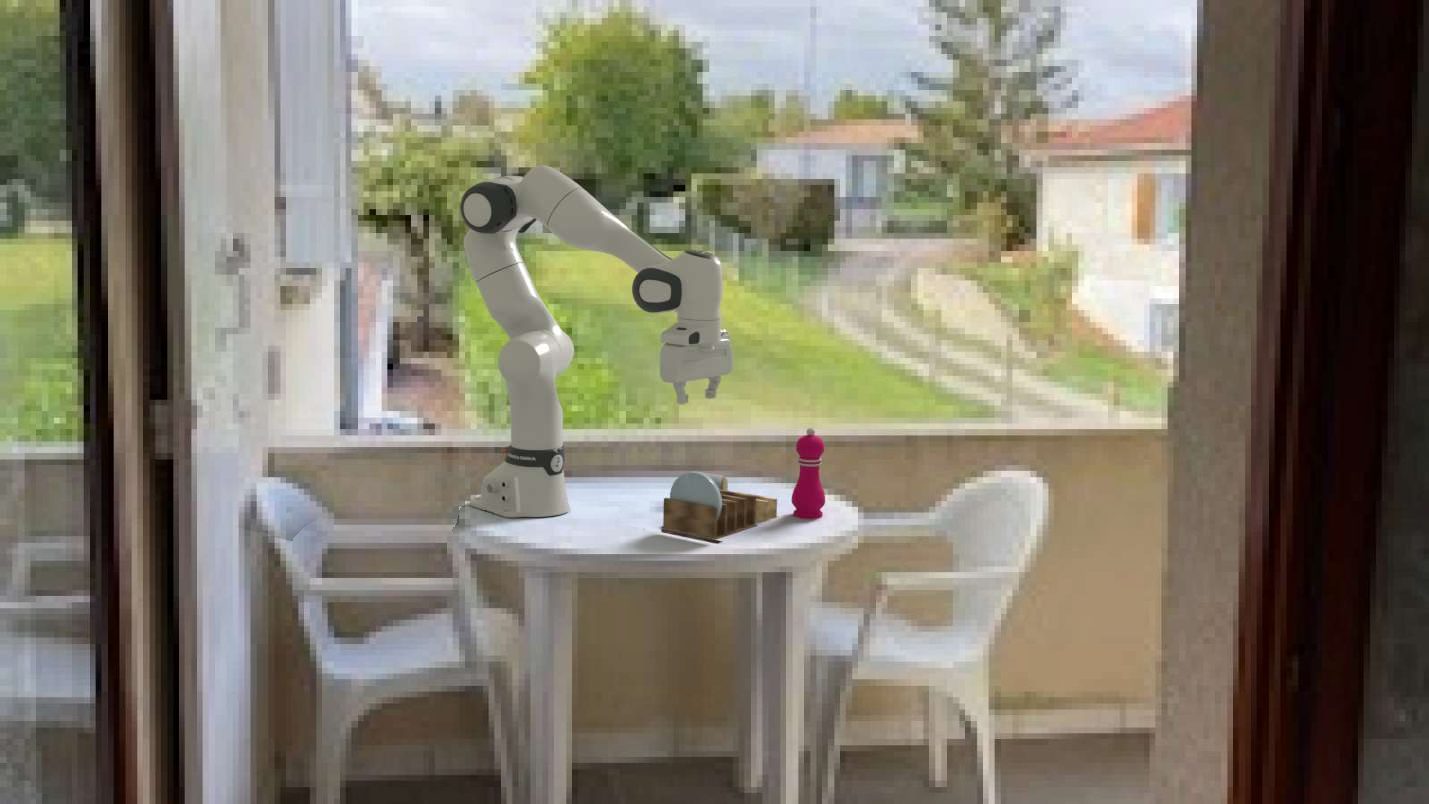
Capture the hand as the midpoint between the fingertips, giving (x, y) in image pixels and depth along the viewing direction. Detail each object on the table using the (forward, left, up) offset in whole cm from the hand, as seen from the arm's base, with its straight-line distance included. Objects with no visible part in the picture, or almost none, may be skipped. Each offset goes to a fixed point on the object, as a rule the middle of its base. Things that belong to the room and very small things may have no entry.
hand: (696, 400), depth 295 cm
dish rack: (+1, +4, -28) cm, 28 cm away
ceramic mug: (-13, +23, -28) cm, 39 cm away
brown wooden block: (+2, +18, -28) cm, 33 cm away
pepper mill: (+11, +26, -28) cm, 40 cm away
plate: (+1, -1, -27) cm, 26 cm away
